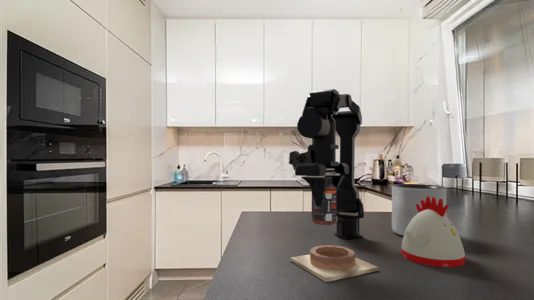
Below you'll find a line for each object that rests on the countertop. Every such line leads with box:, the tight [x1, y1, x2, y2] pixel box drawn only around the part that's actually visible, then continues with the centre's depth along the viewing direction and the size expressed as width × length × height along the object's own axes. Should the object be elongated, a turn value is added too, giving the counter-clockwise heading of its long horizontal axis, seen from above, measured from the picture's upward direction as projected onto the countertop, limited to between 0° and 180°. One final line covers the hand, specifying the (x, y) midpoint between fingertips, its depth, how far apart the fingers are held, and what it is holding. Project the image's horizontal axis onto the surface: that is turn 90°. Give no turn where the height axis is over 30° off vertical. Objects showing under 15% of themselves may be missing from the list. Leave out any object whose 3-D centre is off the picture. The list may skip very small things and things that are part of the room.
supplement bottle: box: [311, 177, 337, 226], centre depth 75 cm, size 6×6×11 cm
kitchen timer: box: [400, 196, 466, 268], centre depth 76 cm, size 14×14×15 cm
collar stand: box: [290, 244, 379, 283], centre depth 70 cm, size 14×14×3 cm
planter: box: [391, 183, 448, 237], centre depth 99 cm, size 16×16×16 cm
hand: (324, 204), depth 75 cm, fingers closed on supplement bottle, 6 cm apart
